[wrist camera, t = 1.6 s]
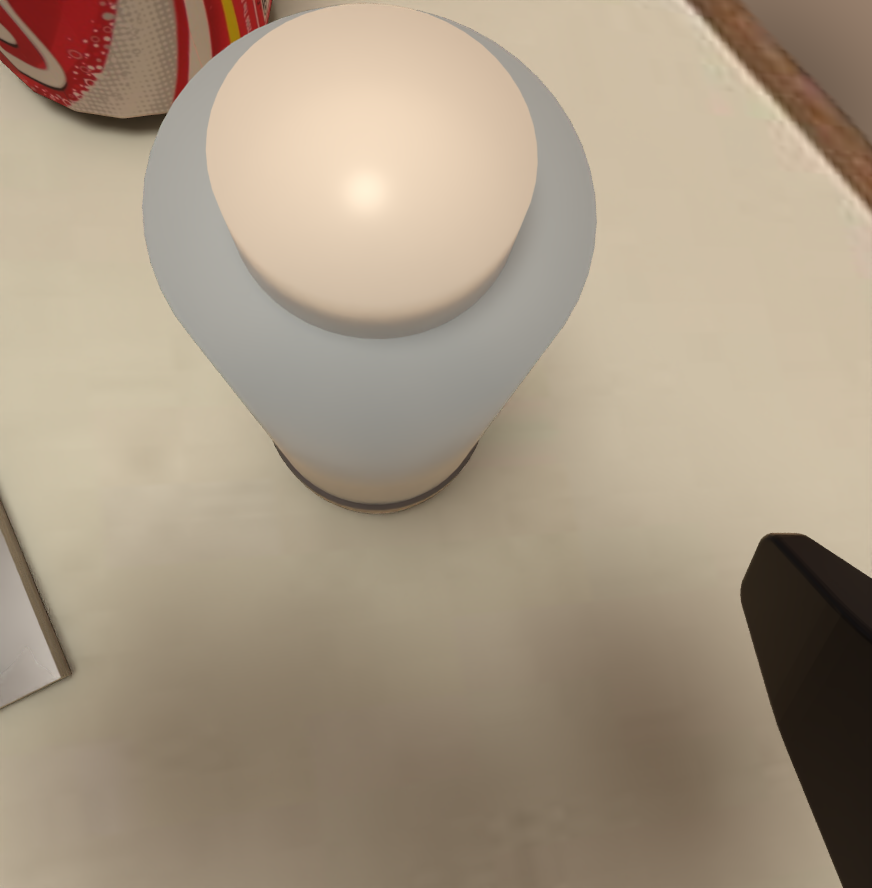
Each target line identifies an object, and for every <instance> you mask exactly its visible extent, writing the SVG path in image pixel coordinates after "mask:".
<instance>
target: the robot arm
mask: <svg viewBox="0 0 872 888" xmlns="http://www.w3.org/2000/svg"><path fill="white" fill-rule="evenodd" d="M740 596H741V603H742V607H743V611H744V614H745V617H746V621H747V624H748V628H749V631H750V635H751V638H752V642H753V645H754V649H755V652H756V655H757V659H758V662H759V666H760V669H761V673H762V676H763V680H764V683H765V687H766V690H767V693H768V697H769V700H770V704H771V707H772V710H773V713H774V716H775V719H776V722H777V725H778V728H779V731H780V733H781V736H782V739H783V741H784V744H785V746H786V749H787V751H788V754H789V756H790V759H791V761H792V764H793V766H794V768H795V771H796V773H797V776H798V778H799V781H800V783H801V786H802V788H803V791H804V793H805V795H806V798H807V800H808V803H809V805H810V808H811V810H812V813H813V815H814V818H815V820H816V822H817V825H818V827H819V830H820V832H821V835H822V837H823V840H824V842H825V845H826V847H827V849H828V852H829V854H830V857H831V859H832V862H833V864H834V867H835V869H836V872H837V874H838V876H839V879H840V881H841V884H842V886H843V888H872V578H870V577H869V576H867V575H866V574H864V573H862V572H861V571H859V570H858V569H856V568H855V567H853V566H852V565H850V564H849V563H847V562H846V561H844V560H843V559H841V558H840V557H838V556H837V555H835V554H834V553H832V552H831V551H829V550H827V549H826V548H824V547H823V546H821V545H820V544H818V543H817V542H815V541H814V540H812V539H811V538H809V537H807V536H806V535H803V534H798V533H770V534H767V535H765V536H764V537H763V538H762V539H761V541H760V542H759V544H758V547H757V549H756V551H755V554H754V556H753V558H752V560H751V563H750V565H749V567H748V569H747V572H746V574H745V576H744V579H743V581H742V584H741V594H740Z"/></svg>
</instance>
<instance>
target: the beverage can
mask: <svg viewBox="0 0 872 888" xmlns="http://www.w3.org/2000/svg"><path fill="white" fill-rule="evenodd" d="M271 3H272V0H0V60H1V61H2V62H3V63H4V64H5V65H6V66H7V67H8V68H9V69H10V70H11V71H12V72H13V73H14V74H16V75H17V76H18V77H19V78H20V79H21V80H22V81H23V82H24V83H25V84H26V85H27V86H28V87H30V88H31V89H32V90H33V91H34V92H36V93H38V94H40V95H42V96H44V97H46V98H48V99H51V100H53V101H55V102H57V103H59V104H61V105H63V106H66V107H68V108H70V109H72V110H74V111H77V112H84V113H90V114H97V115H103V116H110V117H116V118H131V117H139V116H147V115H155V114H163V113H168V111H169V109H170V108H171V106H172V104H173V102H174V101H175V99H176V98H177V97H178V95H179V94H180V93H181V92H182V90H183V89H184V88H185V86H186V85H187V84H188V82H189V81H190V80H191V79H192V78H193V77H194V76H195V75H196V74H197V73H198V72H199V71H200V70H201V69H202V68H203V67H204V66H205V65H206V64H207V63H208V61H209V60H211V59H212V58H213V57H215V56H216V55H217V54H218V53H220V52H221V51H222V50H224V49H225V48H226V47H227V46H229V45H230V44H231V43H233V42H235V41H236V40H238V39H240V38H242V37H243V36H245V35H247V34H248V33H250V32H252V31H253V30H255V29H257V28H260V27H262V26H264V25H267V24H268V19H269V14H270V8H271Z"/></svg>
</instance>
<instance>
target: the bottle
mask: <svg viewBox="0 0 872 888" xmlns="http://www.w3.org/2000/svg"><path fill="white" fill-rule="evenodd" d="M142 209H143V223H144V235H145V240H146V244H147V249H148V254H149V258H150V263H151V265H152V268H153V271H154V273H155V276H156V279H157V281H158V284H159V286H160V289H161V291H162V293H163V295H164V297H165V298H166V300H167V302H168V304H169V306H170V307H171V309H172V311H173V313H174V315H175V316H176V318H177V319H178V320H179V322H180V323H181V324H182V326H183V327H184V328H185V330H186V331H187V332H188V334H189V335H190V336H191V338H192V339H193V340H194V342H195V343H196V344H197V345H198V347H199V348H200V349H201V350H202V352H203V353H204V354H205V355H206V357H207V358H208V359H209V361H210V362H211V363H212V364H213V366H214V367H215V368H216V369H217V371H218V372H219V373H220V374H221V376H222V377H223V378H224V379H225V381H226V382H227V383H228V385H229V386H230V387H231V388H232V390H233V391H234V392H235V393H236V395H237V396H238V397H239V398H240V400H241V401H242V402H243V403H244V405H245V406H246V407H247V409H248V410H249V411H250V412H251V414H252V415H253V416H254V417H255V419H256V420H257V421H258V422H259V424H260V425H261V426H262V427H263V429H264V430H265V431H266V433H267V434H268V435H269V436H270V438H271V439H272V440H273V442H274V445H275V447H276V449H277V450H278V452H279V454H280V456H281V458H282V459H283V461H284V462H285V463H286V465H287V466H288V467H289V469H290V470H291V471H292V472H293V474H294V475H295V476H296V477H297V478H298V479H299V480H300V481H301V482H302V483H303V484H304V485H305V486H306V487H307V488H309V489H310V490H311V491H312V492H314V493H315V494H316V495H318V496H320V497H321V498H323V499H325V500H327V501H328V502H331V503H333V504H335V505H338V506H340V507H343V508H345V509H349V510H352V511H356V512H362V513H369V514H384V513H391V512H397V511H401V510H404V509H408V508H410V507H412V506H415V505H417V504H419V503H422V502H424V501H426V500H427V499H429V498H431V497H433V496H434V495H436V494H437V493H439V492H440V491H441V490H442V489H444V488H445V487H446V486H447V485H448V484H449V483H450V482H451V481H452V480H453V479H454V478H455V477H456V476H457V475H458V474H459V472H460V471H461V470H462V468H463V467H464V466H465V464H466V463H467V462H468V460H469V459H470V457H471V455H472V454H473V452H474V450H475V448H476V446H477V444H478V441H479V439H480V437H481V436H482V435H483V433H484V432H485V431H486V429H487V428H488V427H489V425H490V424H491V423H492V421H493V420H494V419H495V417H496V416H497V415H498V413H499V412H500V411H501V409H502V408H503V407H504V405H505V404H506V402H507V401H508V400H509V398H510V397H511V396H512V394H513V393H514V392H515V390H516V389H517V388H518V386H519V385H520V384H521V382H522V381H523V380H524V378H525V377H526V376H527V374H528V373H529V372H530V370H531V369H532V368H533V366H534V365H535V364H536V362H537V361H538V360H539V358H540V357H541V356H542V354H543V353H544V352H545V350H546V349H547V348H548V346H549V345H550V344H551V342H552V341H553V340H554V338H555V337H556V336H557V334H558V333H559V332H560V330H561V329H562V328H563V326H564V325H565V323H566V321H567V320H568V318H569V316H570V314H571V312H572V311H573V309H574V307H575V305H576V304H577V302H578V300H579V297H580V295H581V292H582V289H583V287H584V284H585V282H586V279H587V277H588V273H589V269H590V265H591V260H592V256H593V252H594V245H595V234H596V223H597V222H596V201H595V192H594V187H593V181H592V176H591V171H590V167H589V164H588V161H587V158H586V155H585V152H584V149H583V146H582V144H581V142H580V140H579V137H578V135H577V133H576V131H575V129H574V127H573V125H572V123H571V121H570V119H569V118H568V116H567V115H566V113H565V112H564V110H563V109H562V107H561V106H560V104H559V102H558V101H557V99H556V98H555V97H554V96H553V94H552V93H551V92H550V91H549V90H548V88H547V87H546V86H545V85H544V84H543V83H542V81H541V80H540V79H539V78H538V77H537V76H536V75H535V74H534V73H533V72H532V71H531V70H530V69H529V68H527V67H526V66H525V65H524V64H523V63H522V62H521V61H520V60H519V59H518V58H516V57H515V56H514V55H512V54H511V53H509V52H508V51H507V50H505V49H504V48H503V47H501V46H500V45H498V44H497V43H496V42H494V41H492V40H490V39H489V38H487V37H485V36H483V35H481V34H480V33H478V32H476V31H474V30H473V29H470V28H468V27H466V26H463V25H461V24H459V23H456V22H454V21H451V20H449V19H447V18H444V17H440V16H437V15H433V14H430V13H426V12H423V11H420V10H414V9H409V8H405V7H399V6H393V5H388V4H372V3H360V4H344V5H336V6H330V7H324V8H318V9H312V10H307V11H304V12H300V13H297V14H294V15H290V16H287V17H283V18H280V19H278V20H276V21H273V22H271V23H269V24H267V25H264V26H262V27H260V28H257V29H255V30H253V31H252V32H250V33H248V34H247V35H245V36H243V37H242V38H240V39H238V40H236V41H235V42H233V43H231V44H230V45H229V46H227V47H226V48H225V49H224V50H222V51H221V52H220V53H218V54H217V55H216V56H215V57H213V58H212V59H211V60H209V61H208V63H207V64H206V65H205V66H204V67H203V68H202V69H201V70H200V71H199V72H198V73H197V74H196V75H195V76H194V77H193V78H192V79H191V80H190V81H189V82H188V84H187V85H186V86H185V88H184V89H183V90H182V92H181V93H180V94H179V95H178V97H177V98H176V99H175V101H174V102H173V104H172V106H171V108H170V109H169V111H168V113H167V115H166V117H165V118H164V120H163V122H162V124H161V126H160V128H159V131H158V133H157V136H156V139H155V141H154V144H153V146H152V149H151V152H150V156H149V161H148V165H147V169H146V174H145V178H144V191H143V204H142Z"/></svg>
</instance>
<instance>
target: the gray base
mask: <svg viewBox="0 0 872 888" xmlns="http://www.w3.org/2000/svg"><path fill="white" fill-rule="evenodd" d="M69 675H71V671H70V669H69V666H68V664H67V662H66V659H65V657H64V654H63V652H62V649H61V647H60V645H59V642H58V640H57V637H56V635H55V632H54V630H53V627H52V625H51V623H50V620H49V618H48V615H47V613H46V610H45V608H44V605H43V603H42V601H41V598H40V596H39V593H38V591H37V588H36V586H35V583H34V581H33V579H32V576H31V574H30V571H29V569H28V566H27V564H26V561H25V559H24V557H23V554H22V552H21V549H20V547H19V544H18V542H17V539H16V537H15V535H14V532H13V530H12V527H11V525H10V522H9V520H8V517H7V515H6V513H5V510H4V508H3V505H2V503H1V500H0V709H2V708H4V707H6V706H8V705H10V704H12V703H14V702H16V701H18V700H20V699H22V698H24V697H26V696H28V695H30V694H32V693H34V692H36V691H38V690H40V689H42V688H44V687H46V686H48V685H50V684H52V683H55V682H57V681H59V680H61V679H63V678H65V677H67V676H69Z"/></svg>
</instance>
